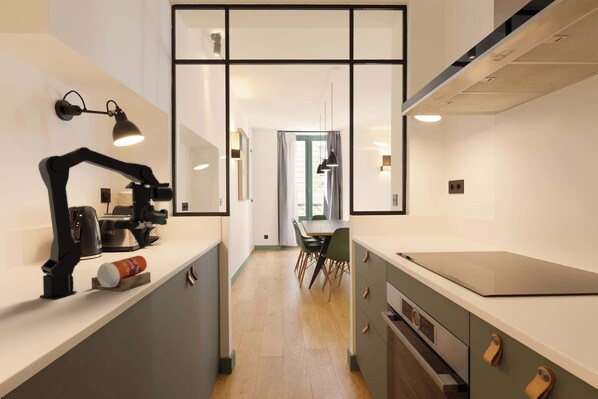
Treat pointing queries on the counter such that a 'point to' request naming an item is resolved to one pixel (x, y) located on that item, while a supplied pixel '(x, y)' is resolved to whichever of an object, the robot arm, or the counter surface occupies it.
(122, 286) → the u rest
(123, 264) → the paper cup
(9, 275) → the counter surface
